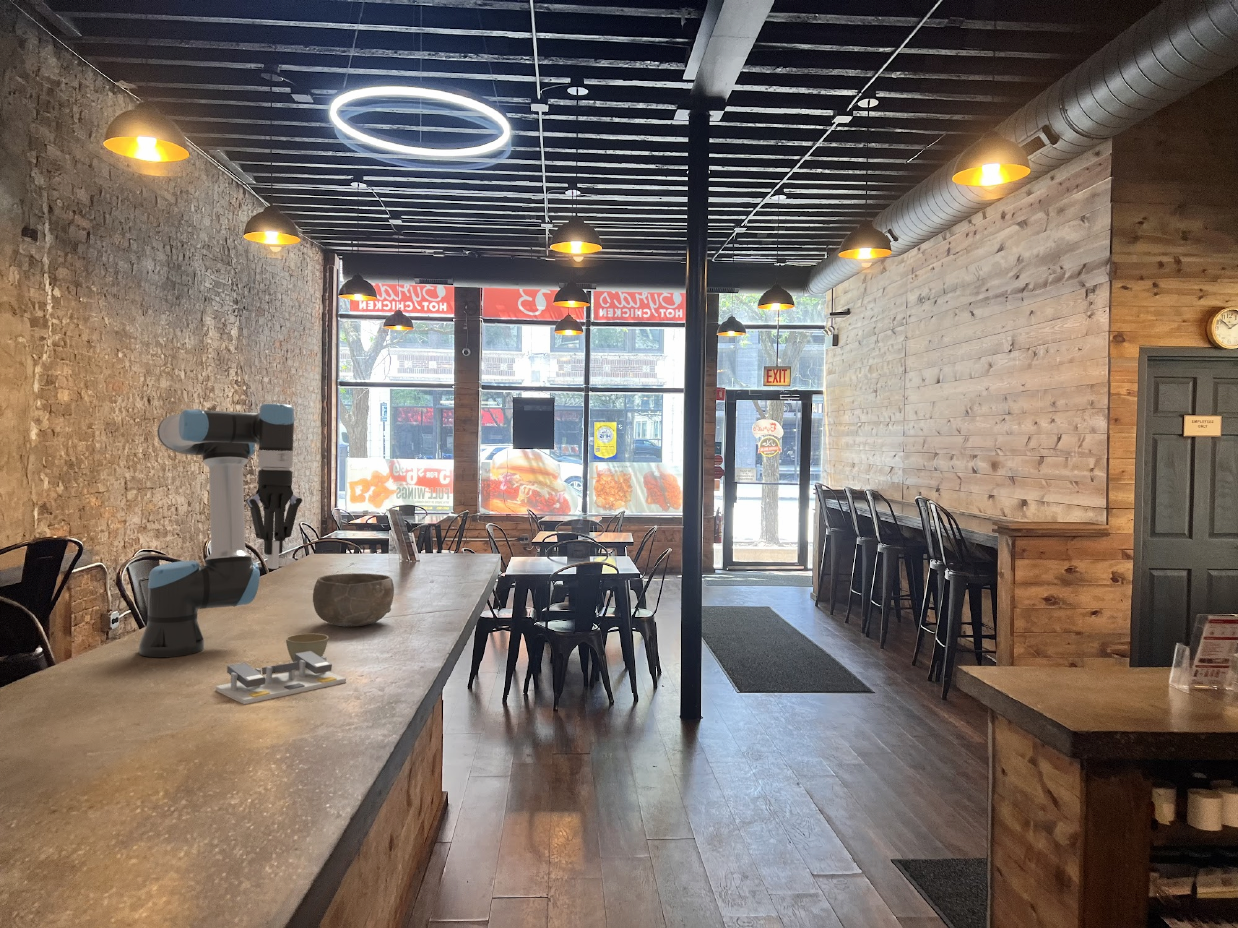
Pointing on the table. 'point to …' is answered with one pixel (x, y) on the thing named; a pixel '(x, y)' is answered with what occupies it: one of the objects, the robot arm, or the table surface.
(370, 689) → the table surface
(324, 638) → the flower pot
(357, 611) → the bowl
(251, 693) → the switch unit
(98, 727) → the table surface
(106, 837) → the table surface
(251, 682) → the rocker
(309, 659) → the rocker
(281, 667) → the rocker
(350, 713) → the table surface
